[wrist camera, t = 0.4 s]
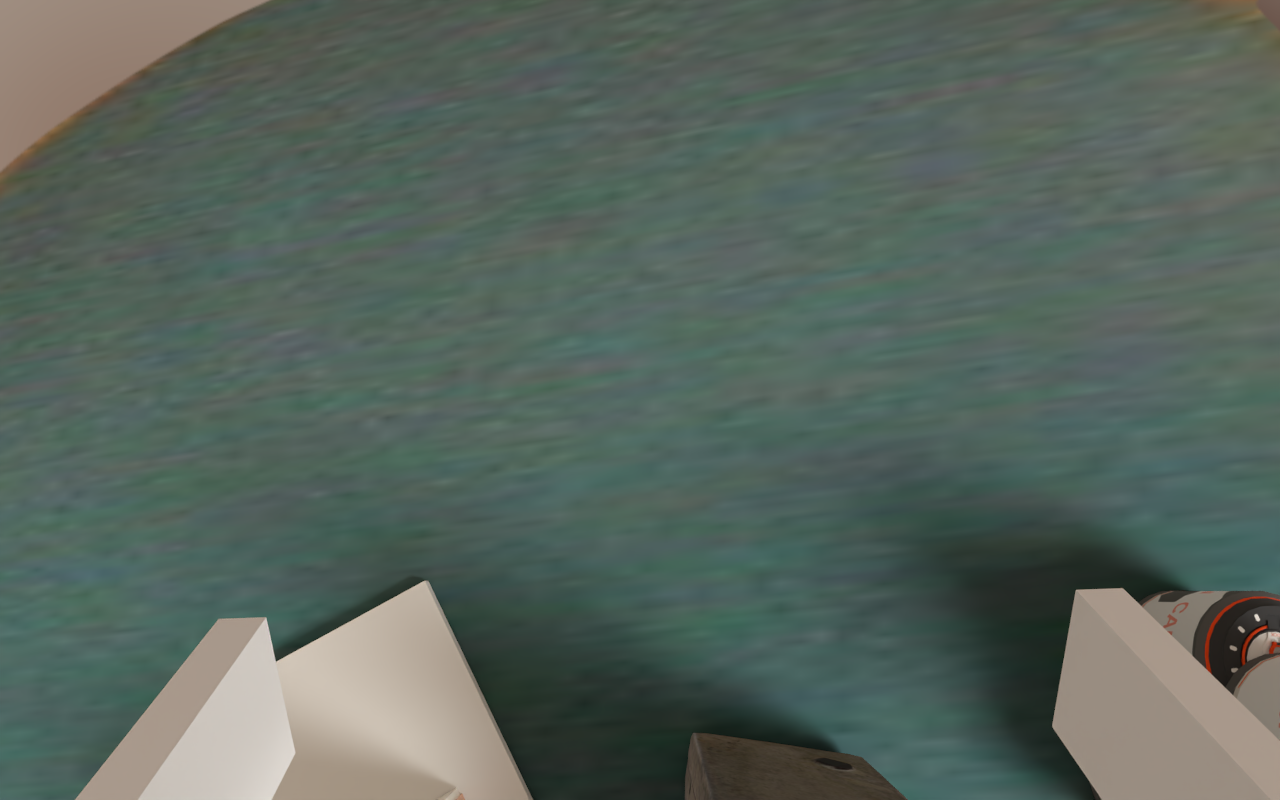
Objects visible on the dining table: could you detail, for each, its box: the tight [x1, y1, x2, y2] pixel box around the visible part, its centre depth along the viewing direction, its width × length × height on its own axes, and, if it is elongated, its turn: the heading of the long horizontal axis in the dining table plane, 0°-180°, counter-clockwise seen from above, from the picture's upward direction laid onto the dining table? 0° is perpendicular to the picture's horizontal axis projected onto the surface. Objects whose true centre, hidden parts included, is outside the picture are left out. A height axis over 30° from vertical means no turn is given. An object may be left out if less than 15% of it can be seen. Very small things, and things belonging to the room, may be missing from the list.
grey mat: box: [272, 581, 533, 800], centre depth 44 cm, size 16×15×1 cm
